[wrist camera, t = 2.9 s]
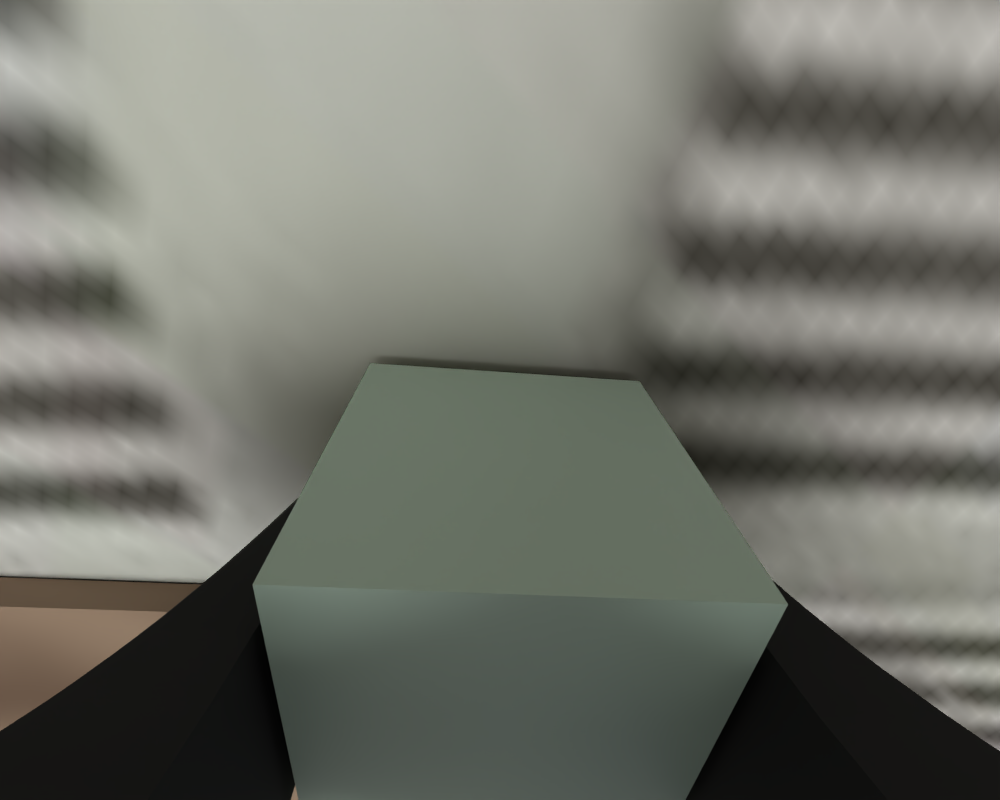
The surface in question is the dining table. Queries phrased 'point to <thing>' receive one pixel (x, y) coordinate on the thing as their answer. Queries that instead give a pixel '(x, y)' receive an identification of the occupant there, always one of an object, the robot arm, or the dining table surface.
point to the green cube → (507, 596)
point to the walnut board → (69, 632)
